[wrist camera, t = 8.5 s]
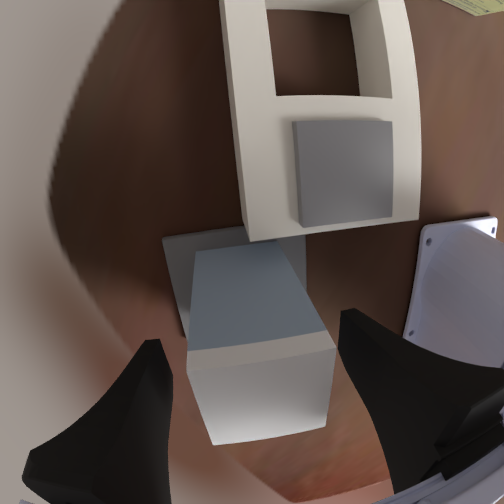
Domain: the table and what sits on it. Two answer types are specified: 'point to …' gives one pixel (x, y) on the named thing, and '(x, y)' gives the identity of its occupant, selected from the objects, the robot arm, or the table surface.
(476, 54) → the table surface
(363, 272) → the table surface
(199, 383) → the plug
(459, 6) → the box
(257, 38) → the frame
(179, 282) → the mat
